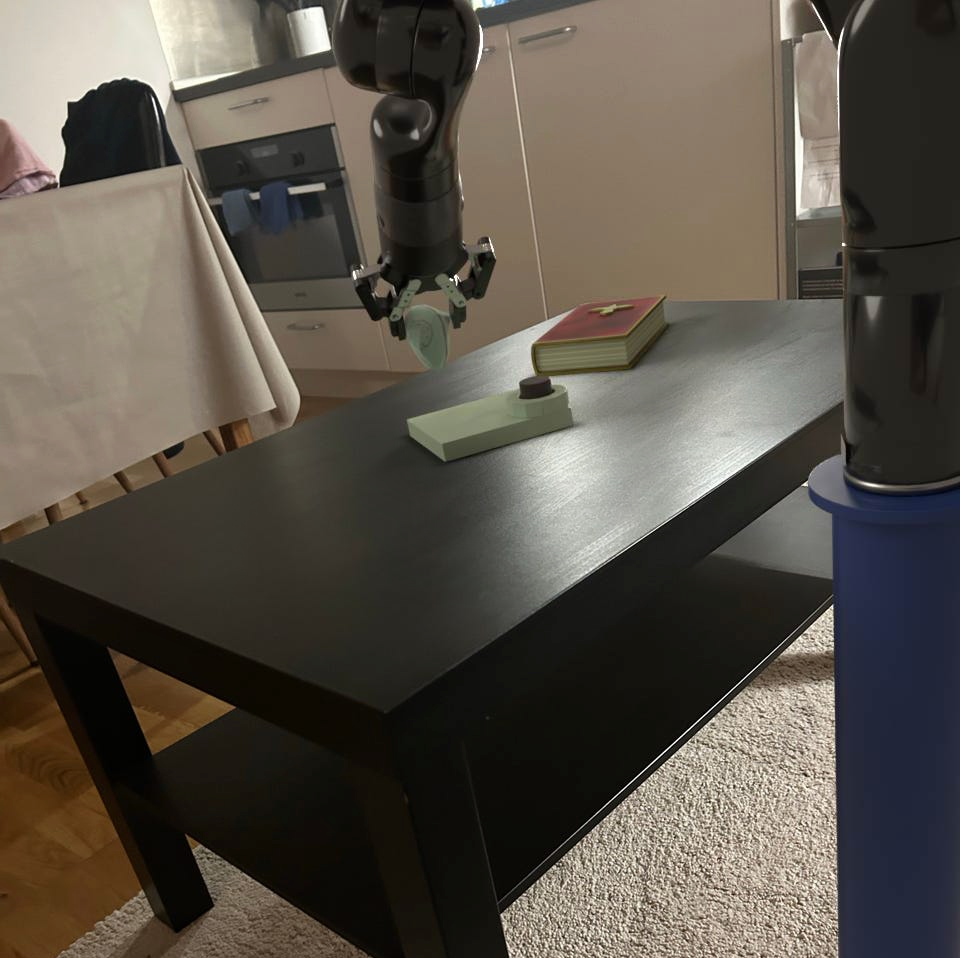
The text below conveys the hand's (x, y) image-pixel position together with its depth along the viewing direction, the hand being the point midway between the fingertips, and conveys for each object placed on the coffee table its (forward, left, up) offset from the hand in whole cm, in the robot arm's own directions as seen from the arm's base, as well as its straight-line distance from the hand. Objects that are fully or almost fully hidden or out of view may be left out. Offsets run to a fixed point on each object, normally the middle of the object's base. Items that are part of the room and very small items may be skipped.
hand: (427, 327), depth 104 cm
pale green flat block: (-3, +4, -11) cm, 12 cm away
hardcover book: (-27, -16, -11) cm, 33 cm away
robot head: (0, +2, -4) cm, 5 cm away
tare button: (-8, +8, -8) cm, 14 cm away
